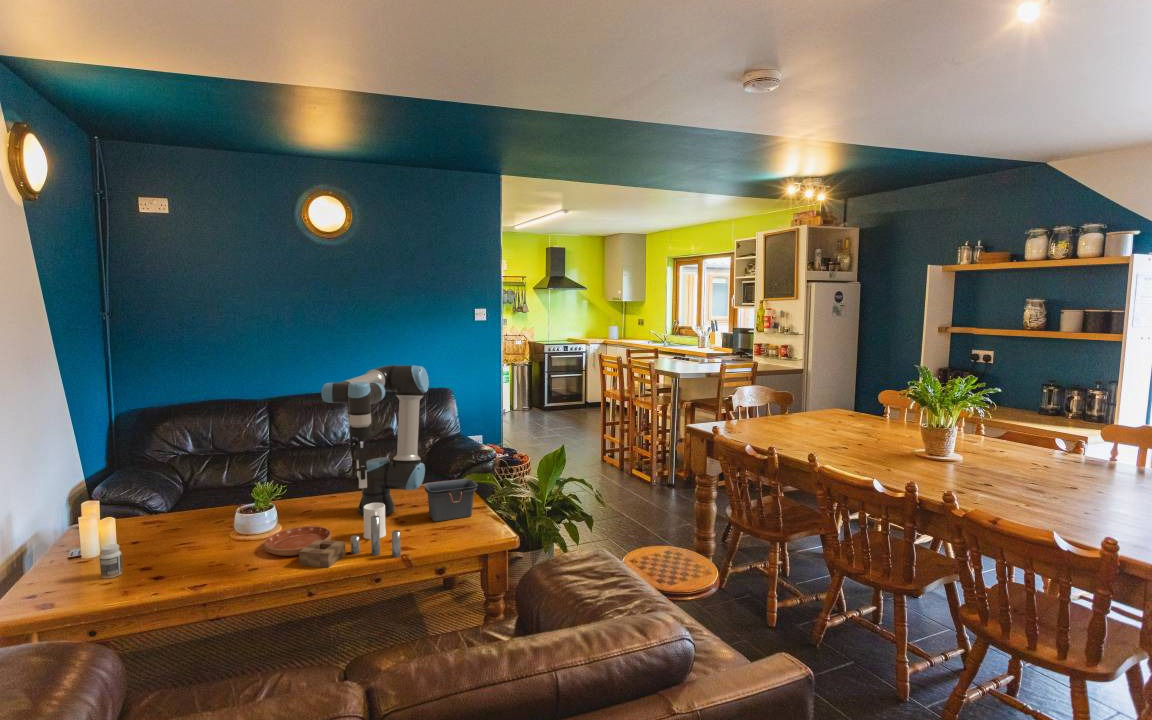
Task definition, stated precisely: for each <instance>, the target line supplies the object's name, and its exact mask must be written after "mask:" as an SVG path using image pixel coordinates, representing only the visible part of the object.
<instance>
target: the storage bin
mask: <svg viewBox="0 0 1152 720" xmlns="http://www.w3.org/2000/svg"><path fill="white" fill-rule="evenodd" d="M423 486H424V491H425V492H426V493H427V503H428V514H429V517H430V518H431V520H432V521H433V522H436V523H437V522H442V521H449V520H455V519H464V518H469V517H471V516H472V514H473V506H474V505H473V504H474V495H475V492H476V491H477V489H478V488H477V487H478V483H477V482H475V481H474V480H473V479H471V478H460V479H452V480H441V481H434V482H433V481H432V482H426V483H424V484H423Z"/></svg>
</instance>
